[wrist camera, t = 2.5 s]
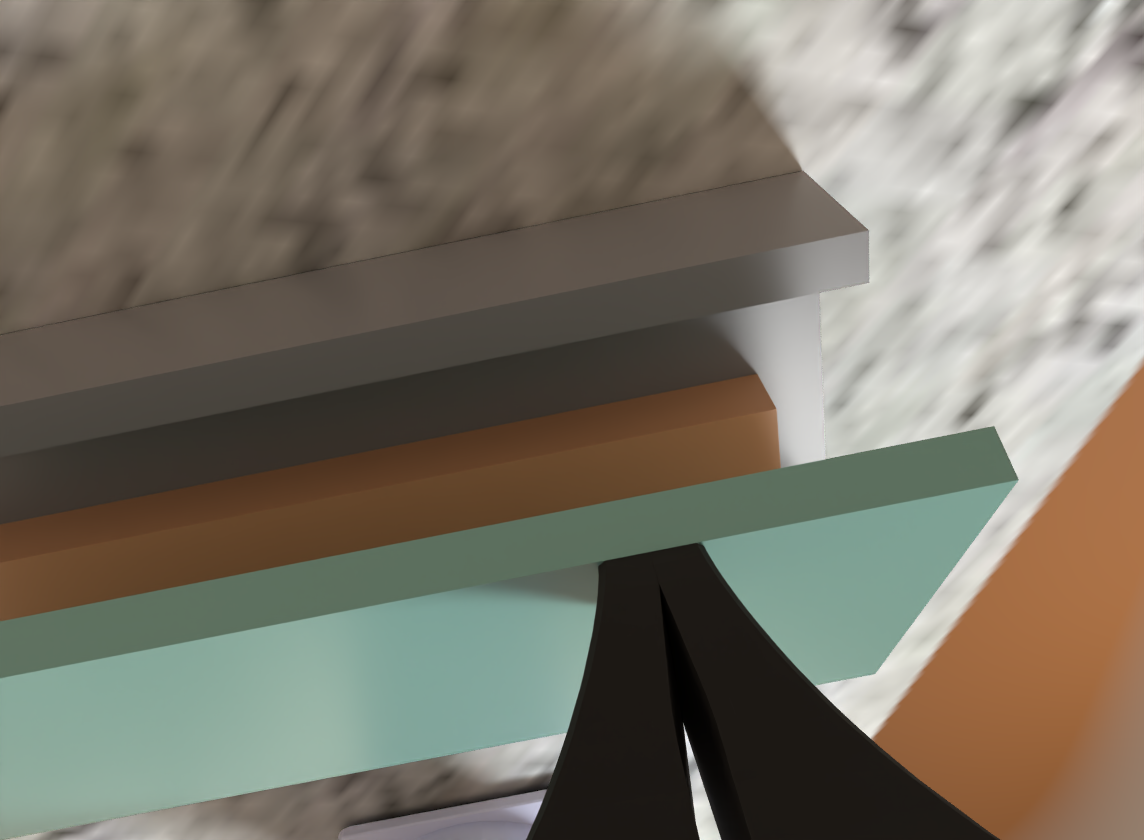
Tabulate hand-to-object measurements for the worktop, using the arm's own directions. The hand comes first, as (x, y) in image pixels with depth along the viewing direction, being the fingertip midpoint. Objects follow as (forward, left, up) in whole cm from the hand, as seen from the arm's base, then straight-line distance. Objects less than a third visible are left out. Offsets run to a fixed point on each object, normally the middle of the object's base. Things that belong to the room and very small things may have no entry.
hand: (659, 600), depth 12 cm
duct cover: (-3, +6, -3) cm, 7 cm away
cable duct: (-3, +6, -9) cm, 11 cm away
